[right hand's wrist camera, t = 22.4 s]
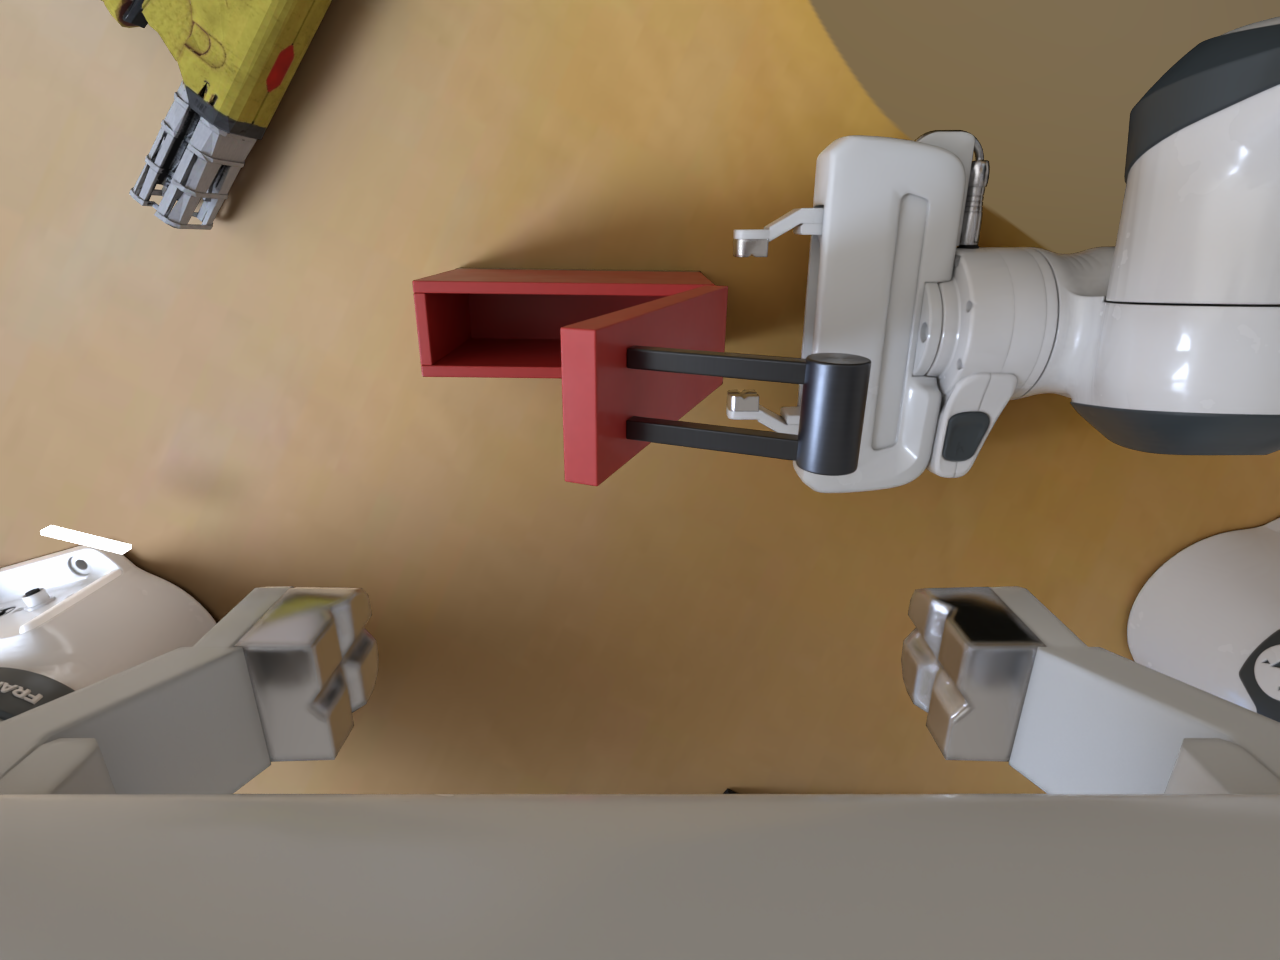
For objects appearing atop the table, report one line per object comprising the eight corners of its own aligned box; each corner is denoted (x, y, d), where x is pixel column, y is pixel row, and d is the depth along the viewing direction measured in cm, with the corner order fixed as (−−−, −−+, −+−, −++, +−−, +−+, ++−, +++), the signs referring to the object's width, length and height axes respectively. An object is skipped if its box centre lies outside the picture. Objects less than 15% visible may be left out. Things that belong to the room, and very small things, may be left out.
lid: (563, 482, 22) (845, 525, 19) (559, 327, 21) (869, 349, 18) (700, 381, 37) (876, 398, 34) (705, 284, 35) (891, 293, 32)
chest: (465, 345, 46) (421, 377, 37) (458, 267, 44) (411, 280, 35) (696, 348, 46) (710, 380, 37) (699, 270, 44) (715, 284, 35)
